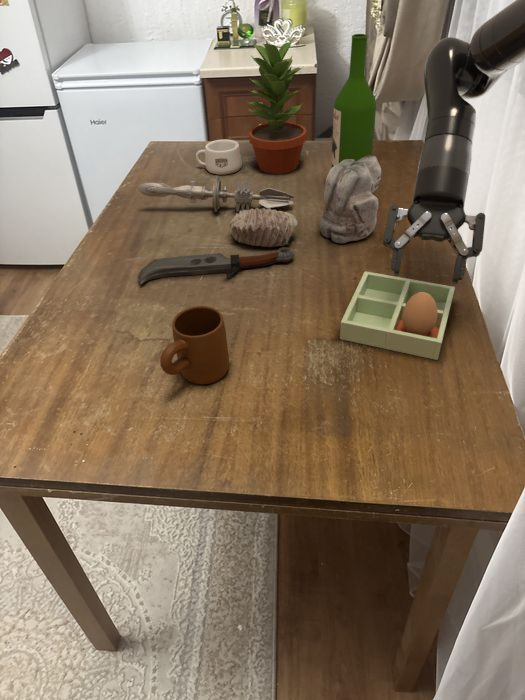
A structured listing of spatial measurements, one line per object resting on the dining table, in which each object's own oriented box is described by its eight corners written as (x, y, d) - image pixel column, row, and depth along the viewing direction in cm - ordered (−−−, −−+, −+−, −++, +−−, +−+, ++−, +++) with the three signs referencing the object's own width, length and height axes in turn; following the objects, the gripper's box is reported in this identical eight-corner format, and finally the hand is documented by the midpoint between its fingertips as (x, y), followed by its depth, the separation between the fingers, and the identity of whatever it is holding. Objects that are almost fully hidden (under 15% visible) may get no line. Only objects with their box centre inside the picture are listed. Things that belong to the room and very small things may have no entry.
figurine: (385, 233, 112) (394, 162, 102) (344, 250, 107) (349, 178, 97) (352, 215, 118) (357, 147, 108) (312, 231, 113) (313, 161, 104)
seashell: (301, 214, 113) (291, 186, 104) (302, 254, 111) (291, 229, 101) (236, 223, 117) (220, 197, 108) (235, 261, 115) (218, 239, 105)
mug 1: (191, 412, 76) (181, 363, 70) (150, 393, 79) (138, 344, 73) (239, 362, 83) (234, 314, 77) (200, 347, 87) (193, 299, 80)
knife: (297, 267, 99) (134, 279, 99) (297, 277, 101) (137, 289, 100) (292, 243, 106) (139, 254, 105) (292, 252, 107) (142, 264, 107)
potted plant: (307, 154, 146) (308, 27, 126) (304, 177, 134) (305, 42, 115) (253, 154, 147) (246, 29, 128) (245, 177, 136) (236, 43, 116)
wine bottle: (325, 186, 130) (330, 33, 109) (360, 181, 131) (372, 28, 110) (337, 202, 123) (345, 42, 102) (374, 196, 124) (389, 37, 103)
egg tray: (451, 303, 92) (455, 286, 90) (437, 360, 82) (441, 342, 79) (363, 287, 97) (364, 271, 95) (339, 339, 87) (340, 322, 84)
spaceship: (141, 169, 123) (133, 169, 115) (294, 180, 123) (296, 181, 115) (141, 205, 125) (133, 207, 118) (291, 216, 125) (292, 219, 118)
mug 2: (243, 160, 144) (242, 137, 140) (241, 175, 137) (239, 151, 133) (199, 161, 145) (196, 139, 141) (194, 176, 138) (191, 153, 134)
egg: (433, 326, 87) (441, 285, 82) (432, 347, 83) (441, 305, 78) (400, 322, 88) (406, 282, 83) (398, 342, 84) (405, 301, 79)
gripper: (395, 160, 79) (376, 267, 79) (497, 167, 76) (479, 279, 75) (395, 179, 87) (378, 278, 86) (488, 187, 83) (471, 289, 82)
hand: (425, 278), depth 81 cm, fingers open, 8 cm apart
